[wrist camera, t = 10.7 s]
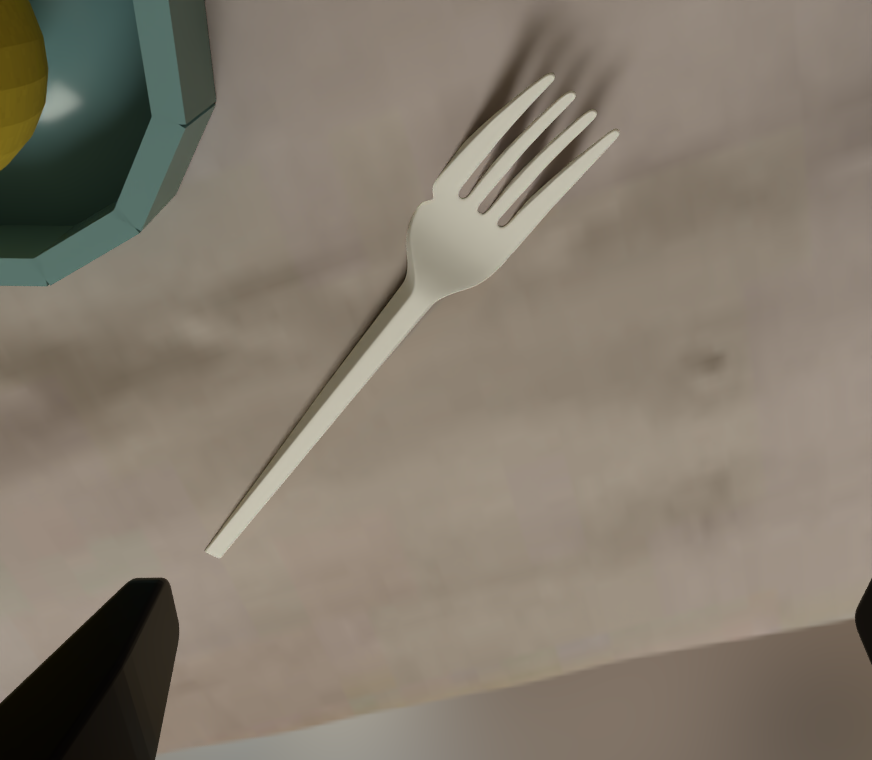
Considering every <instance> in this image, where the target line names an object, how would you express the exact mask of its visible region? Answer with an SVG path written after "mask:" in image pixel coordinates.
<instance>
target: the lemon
mask: <svg viewBox="0 0 872 760" xmlns="http://www.w3.org/2000/svg"><path fill="white" fill-rule="evenodd" d="M47 81H48V62H47V56H46V49H45V43H44V37H43V34H42V31H41V29H40V26H39V24H38V21H37V19H36V16H35V14H34V11H33V9H32V6H31V4H30V2H29V0H0V171H1V170H2V169H3V168H4V167H6V166H7V165H8V164H9V163H10V162H11V160H12V159H13V158H14V157H15V156H16V155H17V153H18V152H19V151H20V150H21V149H22V148H23V146H24V145H25V144H26V143H27V142H28V140H29V139H30V138H31V137H32V135H33V133H34V131H35V129H36V126H37V124H38V121H39V119H40V116H41V113H42V111H43V108H44V106H45V103H46V93H47Z"/></svg>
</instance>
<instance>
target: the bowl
mask: <svg viewBox="0 0 872 760" xmlns="http://www.w3.org/2000/svg"><path fill="white" fill-rule="evenodd" d="M29 2H30V4H31V6H32V9H33V11H34V14H35V16H36V19H37V21H38V24H39V26H40V29H41V31H42V34H43V37H44V43H45V49H46V56H47V62H48V81H47V93H46V103H45V106H44V108H43V111H42V113H41V116H40V119H39V121H38V124H37V126H36V129H35V131H34V133H33V135H32V137H31V138H30V139H29V140H28V142H27V143H26V144H25V145H24V146H23V148H22V149H21V150H20V151H19V152H18V153H17V155H16V156H15V157H14V158H13V159H12V160H11V162H10V163H9V164H8V165H7V166H6V167H4V168H3V169H2V170H1V171H0V286H48V285H49V284H50V285H52V284H54V283H55V282H57V281H59V280H61V279H62V278H64V277H66V276H67V275H69V274H71V273H73V272H74V271H76V270H78V269H79V268H81V267H83V266H84V265H86V264H88V263H90V262H91V261H93V260H95V259H96V258H98V257H100V256H102V255H103V254H105V253H107V252H108V251H110V250H112V249H113V248H115V247H117V246H119V245H120V244H122V243H124V242H125V241H127V240H129V239H131V238H132V237H134V236H136V235H137V234H139V233H140V232H141V231H142V230H143V229H144V228H145V227H146V226H147V225H148V224H149V223H150V221H151V220H152V219H153V218H154V217H155V216H156V215H157V214H158V213H159V212H160V211H161V210H162V209H163V208H164V207H165V206H166V205H167V204H168V202H169V201H170V200H171V199H172V198H173V197H174V196H175V195H176V193H177V191H178V189H179V186H180V184H181V182H182V180H183V177H184V175H185V173H186V171H187V168H188V166H189V164H190V161H191V159H192V157H193V155H194V152H195V150H196V148H197V146H198V143H199V141H200V139H201V137H202V134H203V132H204V130H205V128H206V125H207V123H208V121H209V119H210V116H211V114H212V112H213V110H214V107H215V104H214V103H215V102H216V96H215V87H214V79H213V70H212V62H211V53H210V45H209V36H208V28H207V19H206V11H205V2H204V0H29Z"/></svg>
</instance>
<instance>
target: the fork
mask: <svg viewBox="0 0 872 760" xmlns="http://www.w3.org/2000/svg"><path fill="white" fill-rule="evenodd" d="M554 79H555V74H554V73H548V74H546V75H545V76H543V77H542V78H540V79H539V80H538V81H536V82H535V83H533V84H532V85H531V86H529V87H528V88H527V89H525V90H524V91H523V92H521V93H520V94H519V95H518V96H516V97H515V98H514V99H513V100H511V101H510V102H509V103H508V104H506V105H505V106H504V107H503V108H501V109H500V110H499V111H498V112H497V113H495V114H494V115H493V116H492V117H491V118H490V119H488V120H487V121H486V122H485V123H484V124H483V125H482V126H481V127H479V128H478V129H477V130H476V131H475V132H474V133H473V134H472V135H471V136H470V137H469V138H468V139H467V140H466V141H465V142H464V143H463V144H462V146H461V147H460V148H459V150H458V151H457V152H456V154H455V155H454V156H453V158H452V159H451V160H450V162H449V163H448V164H447V166H446V167H445V168H444V170H443V171H442V172H441V174H440V175H439V176H438V178H437V179H436V181H435V183H434V185H433V199H431V200H429V201H425V202H423V203H421V204H420V205H419V206H418V208H417V209H416V211H415V213H414V214H413V216H412V219H411V221H410V224H409V227H408V231H407V237H406V251H407V274H406V278H405V280H404V282H403V284H402V285H401V286H400V288H399V289H398V291H397V292H396V293H395V295H394V296H393V297H392V299H391V300H390V301H389V302H388V304H387V305H386V306H385V308H384V309H383V310H382V312H381V313H380V314H379V316H378V317H377V318H376V320H375V321H374V322H373V324H372V325H371V326H370V328H369V329H368V330H367V332H366V333H365V334H364V335H363V337H362V338H361V339H360V341H359V342H358V343H357V345H356V346H355V347H354V349H353V350H352V351H351V353H350V354H349V355H348V357H347V358H346V359H345V361H344V362H343V363H342V364H341V366H340V367H339V368H338V370H337V371H336V372H335V374H334V375H333V376H332V378H331V379H330V380H329V382H328V383H327V384H326V386H325V387H324V388H323V390H322V391H321V392H320V394H319V395H318V397H317V398H316V399H315V401H314V402H313V403H312V405H311V406H310V408H309V409H308V410H307V412H306V413H305V415H304V416H303V417H302V419H301V420H300V421H299V423H298V424H297V426H296V427H295V428H294V430H293V431H292V433H291V434H290V435H289V437H288V438H287V439H286V441H285V442H284V444H283V445H282V446H281V448H280V449H279V450H278V452H277V453H276V455H275V456H274V457H273V459H272V460H271V461H270V463H269V464H268V466H267V467H266V468H265V470H264V471H263V472H262V474H261V475H260V476H259V478H258V479H257V481H256V482H255V483H254V485H253V486H252V487H251V489H250V490H249V491H248V493H247V494H246V496H245V497H244V498H243V500H242V501H241V502H240V504H239V505H238V506H237V508H236V509H235V510H234V512H233V513H232V515H231V516H230V517H229V519H228V520H227V521H226V523H225V524H224V525H223V527H222V528H221V529H220V531H219V532H218V533H217V535H216V536H215V537H214V539H213V540H212V541H211V543H210V544H209V545H208V547H207V548H206V549H205V552H206V553H208V554H210V555H212V556H215V557H217V558H221V557H222V556H223V555H224V553H225V552H226V551H227V550H228V549H229V547H230V546H231V545H232V544H233V543H234V541H235V540H236V539H237V538H238V537H239V535H240V534H241V533H242V532H243V530H244V529H245V528H246V527H247V526H248V524H249V523H250V522H251V521H252V520H253V518H254V517H255V516H256V515H257V514H258V512H259V511H260V510H261V509H262V508H263V506H264V505H265V504H266V503H267V502H268V500H269V499H270V498H271V497H272V496H273V494H274V493H275V492H276V491H277V490H278V488H279V487H280V486H281V485H282V484H283V482H284V481H285V480H286V479H287V478H288V476H289V475H290V474H291V473H292V472H293V470H294V469H295V468H296V467H297V466H298V464H299V463H300V462H301V461H302V459H303V458H304V457H305V456H306V455H307V453H308V452H309V451H310V450H311V449H312V447H313V446H314V445H315V444H316V443H317V441H318V440H319V439H320V438H321V437H322V435H323V434H324V433H325V432H326V431H327V429H328V428H329V427H330V426H331V425H332V423H333V422H334V421H335V420H336V419H337V417H338V416H339V415H340V414H341V413H342V411H343V410H344V409H345V408H346V407H347V405H348V404H349V403H350V402H351V401H352V399H353V398H354V397H355V396H356V395H357V394H358V392H359V391H360V390H361V389H362V388H363V386H364V385H365V384H366V383H367V382H368V381H369V379H370V378H371V377H372V376H373V375H374V373H375V372H376V371H377V370H378V369H379V368H380V366H381V365H382V364H383V363H384V362H385V361H386V359H387V358H388V357H389V356H390V355H391V353H392V352H393V351H394V350H395V349H396V348H397V346H398V345H399V344H400V343H401V342H402V340H403V339H404V338H405V337H406V336H407V335H408V333H409V332H410V331H411V330H412V329H413V328H414V326H415V325H416V324H417V323H418V322H419V320H420V319H421V318H422V317H423V316H424V315H425V313H426V312H427V311H428V310H429V309H430V308H431V307H432V305H433V304H434V303H435V302H436V301H438V300H440V299H442V298H444V297H446V296H448V295H451V294H454V293H456V292H459V291H462V290H466V289H469V288H471V287H474V286H476V285H478V284H480V283H482V282H483V281H485V280H486V279H487V278H489V277H490V276H491V275H492V274H493V273H495V272H496V271H497V270H498V269H499V268H500V267H501V266H502V265H503V263H504V262H505V261H506V260H507V259H508V258H509V256H510V255H511V254H512V253H513V252H514V251H515V250H516V249H517V248H518V247H519V246H520V244H521V243H522V242H523V241H524V240H525V239H526V237H527V236H528V235H529V234H530V233H531V232H532V230H533V229H534V228H535V227H536V226H537V225H538V223H539V222H540V221H541V220H542V219H543V218H544V217H545V215H546V214H547V213H548V212H549V211H550V210H551V209H552V208H553V207H554V205H555V204H556V203H557V202H558V201H559V200H560V199H561V198H562V197H563V196H564V195H565V193H566V192H567V191H568V190H569V189H570V188H571V187H572V186H573V185H574V184H575V183H576V182H577V181H578V180H579V179H580V177H581V176H582V175H583V174H584V173H585V172H586V171H587V170H588V169H589V168H590V167H591V165H592V164H593V163H594V162H595V161H596V160H597V159H598V158H599V157H600V156H601V155H602V154H603V153H604V152H605V151H606V149H607V148H608V147H609V146H610V145H611V144H612V143H613V142H614V141H615V140H616V139H617V137H618V136H619V130H618V129H613V130H611V131H610V132H609V133H607V134H606V135H605V136H603V137H602V138H601V139H599V140H598V141H597V142H596V143H594V144H593V145H592V146H590V147H589V148H588V149H587V150H585V151H584V152H583V153H582V154H580V155H579V156H578V157H576V158H575V159H574V160H573V161H572V162H570V163H569V164H568V165H567V166H566V167H564V168H563V169H562V170H561V171H560V172H559V173H557V174H556V175H555V176H554V177H553V178H552V179H551V180H549V181H548V182H547V183H546V184H545V185H544V186H543V187H542V188H540V189H539V190H538V191H537V192H536V193H535V194H534V195H533V196H531V197H530V199H529V200H528V201H527V202H526V203H525V204H524V205H523V206H522V208H521V209H520V210H519V211H518V212H517V213H516V215H515V216H514V217H513V218H512V219H511V220H510V222H509V223H508V224H507V225H505V226H503V227H500V226H499V225H498V220H499V219H500V217H501V216H502V215H503V214H504V213H505V212H506V211H507V210H508V209H509V207H510V206H511V205H512V204H513V203H514V202H515V201H516V200H517V199H518V197H519V196H520V195H521V194H522V193H523V192H524V191H525V190H526V189H527V188H528V186H529V185H530V184H531V183H532V182H533V181H534V180H535V179H536V177H537V176H538V175H539V174H540V173H541V172H542V171H543V170H544V168H545V167H546V166H547V165H548V164H549V163H550V162H551V161H552V160H553V159H554V158H555V157H556V156H557V155H558V154H559V153H560V152H561V151H562V150H563V149H564V148H565V147H566V146H567V145H568V144H569V143H570V142H571V141H572V140H573V139H574V138H575V137H576V136H577V135H578V134H579V133H581V132H582V131H583V130H584V129H585V128H586V127H587V126H588V125H589V124H590V123H591V122H592V121H593V120H594V119H595V117H596V116H597V111H596V110H595V109H591V110H589V111H587V112H586V113H584V114H583V115H582V116H580V117H579V118H578V119H577V120H576V121H574V122H573V123H572V124H571V125H570V126H568V127H567V128H566V129H565V130H564V131H563V132H561V133H560V134H559V135H558V136H557V137H556V138H554V139H553V140H552V141H551V142H550V143H549V144H548V145H547V146H546V147H544V148H543V149H542V150H541V151H540V152H539V153H538V154H537V155H536V156H535V157H534V158H533V159H532V160H531V161H530V162H529V163H528V164H527V165H526V166H525V167H524V168H523V169H522V170H521V171H520V172H519V173H518V174H517V175H516V176H515V177H514V178H513V179H512V180H511V182H510V183H509V184H508V185H507V187H506V188H505V189H504V191H503V192H502V193H501V194H500V196H499V197H498V198H497V200H496V201H495V202H494V203H493V205H492V206H491V207H490V208H489V209H488V210H487V211H486V212H485V213H483V214H482V213H480V212H479V211H478V207H479V205H480V204H481V202H482V201H483V200H484V199H485V197H486V196H487V195H488V194H489V193H490V191H491V190H492V189H493V188H494V187H495V186H496V184H497V183H498V182H499V181H500V180H501V179H502V177H503V176H504V175H505V174H506V173H507V172H508V170H509V169H510V168H511V167H512V166H513V164H514V163H515V162H516V161H517V160H518V159H519V157H520V156H521V155H522V154H523V153H524V152H525V151H526V149H527V148H528V147H529V146H530V145H531V144H532V143H533V142H534V141H535V140H536V139H537V138H538V136H539V135H540V134H541V133H542V132H543V131H544V130H545V129H546V128H547V127H548V126H549V125H550V124H551V123H552V122H553V121H554V120H555V119H556V118H557V117H558V116H559V115H560V114H561V113H562V112H563V111H564V109H565V108H566V107H567V106H568V105H569V104H570V103H571V102H572V101H573V100H574V99H575V97H576V93H575V92H574V91H569V92H567V93H565V94H564V95H562V96H561V97H560V98H559V99H557V100H556V101H555V102H554V103H553V104H552V105H551V106H550V107H549V108H547V109H546V110H545V111H544V112H543V113H542V114H541V115H540V116H539V117H538V118H537V119H535V120H534V121H533V122H532V123H531V124H530V125H529V126H528V127H527V128H526V129H525V130H524V131H523V132H522V133H521V134H520V135H519V136H518V137H517V138H516V139H515V140H514V141H513V142H512V143H511V144H510V145H509V146H508V147H507V148H506V149H505V150H504V151H503V152H502V153H501V155H500V156H499V157H498V158H497V159H496V160H495V161H494V162H493V164H492V165H491V166H490V167H489V169H488V170H487V171H486V173H485V174H484V175H483V177H482V178H481V179H480V181H479V182H478V183H477V185H476V186H475V187H474V189H473V190H472V191H471V193H470V194H469V195H468V196H467V197H466V198H461V197H460V196H459V191H460V189H461V188H462V186H463V185H464V184H465V182H466V181H467V180H468V179H469V177H470V176H471V175H472V174H473V172H474V171H475V170H476V169H477V167H478V166H479V165H480V163H481V162H482V161H483V160H484V159H485V157H486V156H487V155H488V154H489V153H490V151H491V150H492V149H493V148H494V146H495V145H496V144H497V143H498V141H499V140H500V139H501V138H502V137H503V135H504V134H505V133H506V132H507V131H508V130H509V129H510V127H511V126H512V125H513V124H514V123H515V122H516V121H517V120H518V118H519V117H520V116H521V115H522V114H523V113H524V112H525V111H526V110H527V108H528V107H529V106H530V105H531V104H532V103H533V102H534V101H535V100H536V99H537V98H538V97H539V96H540V95H541V94H542V92H543V91H544V90H545V89H546V88H547V87H548V86H549V85H550V84H551V83H552V82H553V81H554Z"/></svg>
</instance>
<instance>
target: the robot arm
mask: <svg viewBox="0 0 872 760" xmlns="http://www.w3.org/2000/svg"><path fill="white" fill-rule="evenodd" d="M855 623H856V627H857V630H858V633H859V636H860V638H861V640H862V643H863V645H864V648H865V650H866V652H867V655H868V657H869V660H870V662H871V664H872V579H871V581H870V583H869V585H868V587H867V589H866V591H865V593H864V595H863V597H862V599H861V601H860V603H859V605H858V607H857V609H856V613H855ZM178 640H179V622H178V617H177V613H176V608H175V604H174V599H173V595H172V590H171V586H170V584H169V582H168V580H166V579H165V578H135V579H132V580H130V581H129V582H127V583H126V584H125V585H124V586H123V587H122V588H121V589H120V590H119V591H118V592H117V593H116V594H115V595H114V596H112V597H111V598H110V599H109V600H108V601H107V602H106V603H105V604H104V605H103V606H102V607H101V608H100V609H99V610H98V611H97V612H96V613H95V614H94V615H93V616H91V617H90V618H89V619H88V620H87V621H86V622H85V623H84V624H83V625H82V626H81V627H80V628H79V629H78V630H77V631H76V632H75V633H74V634H73V635H72V636H70V637H69V638H68V639H67V640H66V641H65V642H64V643H63V644H62V645H61V646H60V647H59V648H58V649H57V650H56V651H55V652H54V653H53V654H52V655H51V656H49V657H48V658H47V659H46V660H45V661H44V662H43V663H42V664H41V665H40V666H39V667H38V668H37V669H36V670H35V671H34V672H33V673H32V674H31V675H29V676H28V677H27V678H26V679H25V680H24V681H23V682H22V683H21V684H20V685H19V686H18V687H17V688H16V689H15V690H14V691H13V692H12V693H11V694H10V695H8V696H7V697H6V698H5V699H4V700H3V701H2V702H1V703H0V760H155V757H156V752H157V748H158V743H159V738H160V733H161V728H162V723H163V717H164V712H165V707H166V702H167V697H168V692H169V687H170V682H171V677H172V672H173V667H174V661H175V656H176V651H177V646H178Z"/></svg>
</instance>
